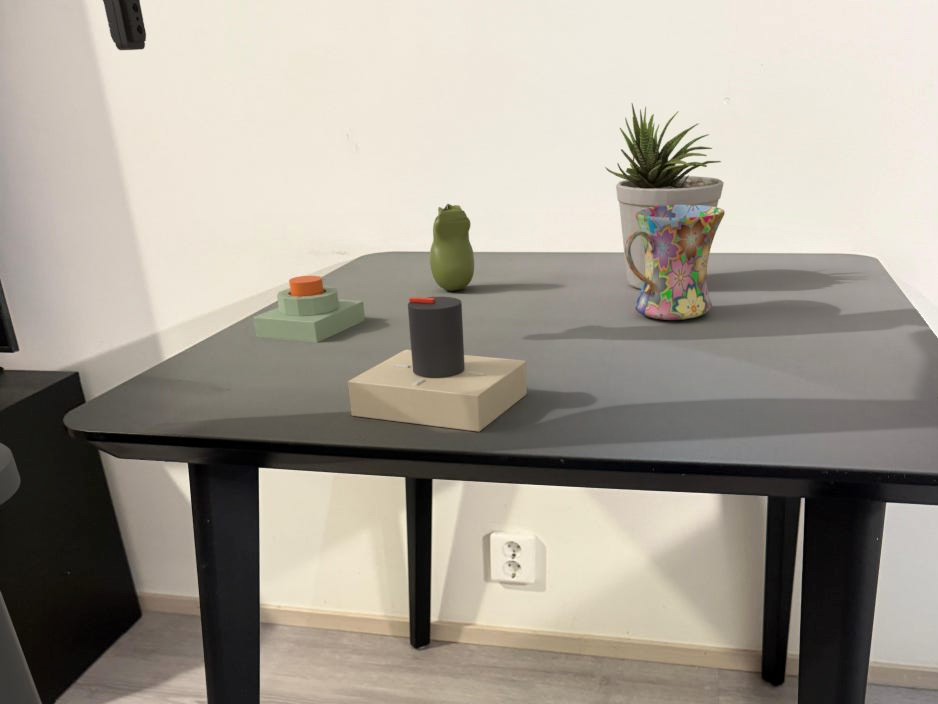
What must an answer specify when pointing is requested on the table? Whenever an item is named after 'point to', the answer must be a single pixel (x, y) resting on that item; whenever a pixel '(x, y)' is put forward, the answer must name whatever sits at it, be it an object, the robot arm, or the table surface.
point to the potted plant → (658, 183)
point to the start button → (306, 286)
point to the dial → (436, 336)
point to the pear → (451, 249)
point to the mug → (674, 259)
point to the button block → (309, 316)
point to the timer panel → (439, 392)
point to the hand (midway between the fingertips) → (131, 49)
